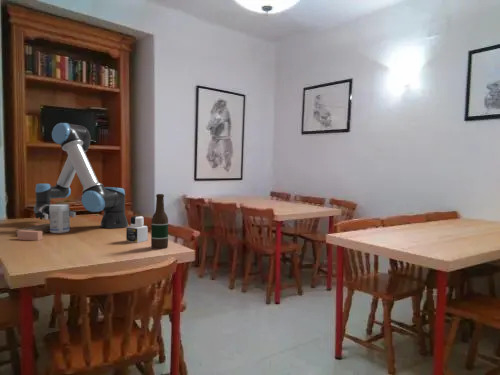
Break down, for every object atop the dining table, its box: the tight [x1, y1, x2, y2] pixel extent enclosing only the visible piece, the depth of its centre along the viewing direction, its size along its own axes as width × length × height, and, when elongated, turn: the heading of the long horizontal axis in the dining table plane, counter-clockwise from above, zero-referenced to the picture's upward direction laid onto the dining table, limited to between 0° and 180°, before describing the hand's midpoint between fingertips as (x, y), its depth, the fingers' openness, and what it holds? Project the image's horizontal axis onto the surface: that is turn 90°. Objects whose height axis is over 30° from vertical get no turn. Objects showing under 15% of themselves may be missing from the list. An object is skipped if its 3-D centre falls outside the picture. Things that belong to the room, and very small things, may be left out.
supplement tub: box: [49, 203, 71, 234], centre depth 196 cm, size 10×10×15 cm
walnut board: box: [15, 223, 50, 237], centre depth 193 cm, size 6×21×3 cm, turn 170°
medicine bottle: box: [125, 215, 149, 244], centre depth 177 cm, size 7×7×12 cm
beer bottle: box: [150, 193, 169, 250], centre depth 164 cm, size 8×8×24 cm
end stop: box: [16, 230, 43, 241], centre depth 176 cm, size 11×3×4 cm, turn 80°
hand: (61, 215), depth 194 cm, fingers open, 13 cm apart
